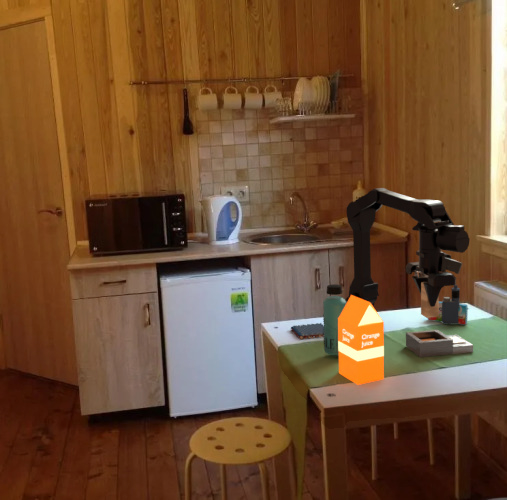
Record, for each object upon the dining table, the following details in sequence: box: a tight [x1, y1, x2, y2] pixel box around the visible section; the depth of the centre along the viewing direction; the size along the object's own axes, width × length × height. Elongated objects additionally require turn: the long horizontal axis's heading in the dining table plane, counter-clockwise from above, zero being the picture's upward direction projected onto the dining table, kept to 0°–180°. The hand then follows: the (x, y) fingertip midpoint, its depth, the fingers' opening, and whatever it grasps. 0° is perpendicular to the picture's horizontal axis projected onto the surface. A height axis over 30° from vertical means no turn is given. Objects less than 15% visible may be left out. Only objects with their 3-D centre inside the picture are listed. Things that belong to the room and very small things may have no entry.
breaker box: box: [405, 329, 474, 358], centre depth 174 cm, size 15×9×4 cm, turn 100°
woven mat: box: [290, 322, 324, 340], centre depth 193 cm, size 10×11×2 cm
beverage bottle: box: [322, 283, 346, 356], centre depth 170 cm, size 6×7×20 cm
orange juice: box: [338, 295, 385, 386], centre depth 155 cm, size 8×9×20 cm
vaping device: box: [441, 284, 461, 325], centre depth 195 cm, size 3×5×12 cm, turn 81°
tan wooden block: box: [420, 282, 440, 319], centre depth 171 cm, size 4×4×9 cm
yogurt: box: [427, 300, 469, 326], centre depth 198 cm, size 12×2×6 cm, turn 56°
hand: (429, 304), depth 171 cm, fingers closed on tan wooden block, 3 cm apart
